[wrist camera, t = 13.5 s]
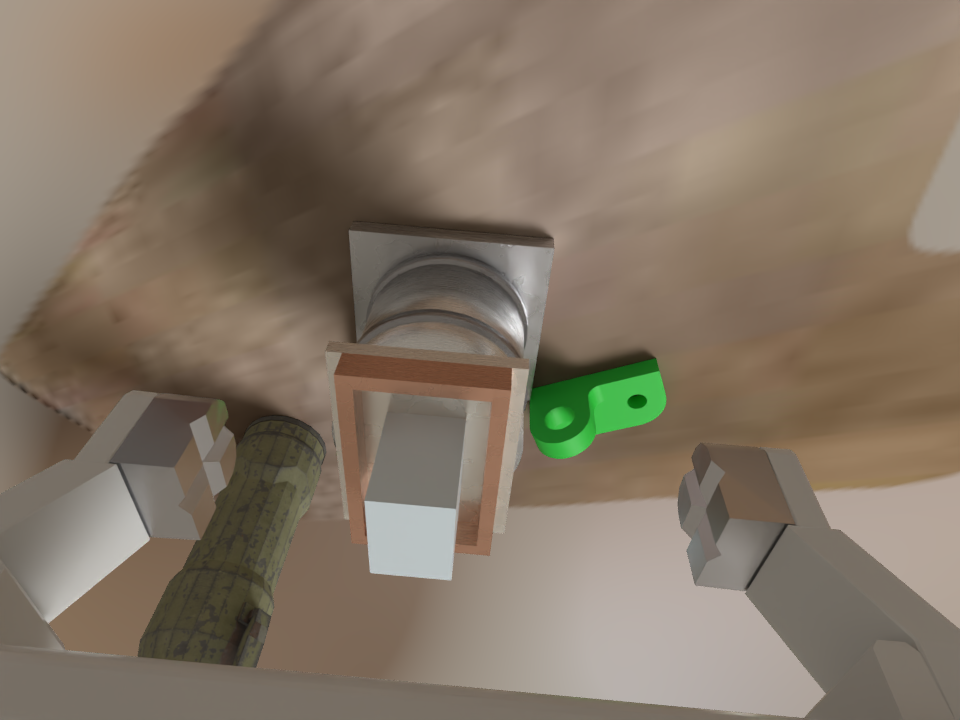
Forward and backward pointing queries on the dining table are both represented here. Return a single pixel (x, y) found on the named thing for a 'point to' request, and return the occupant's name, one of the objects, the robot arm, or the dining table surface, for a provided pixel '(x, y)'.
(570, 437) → the mechanical part
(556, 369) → the dining table surface
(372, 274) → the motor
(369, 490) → the pale grey rectangular block
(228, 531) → the thermos
